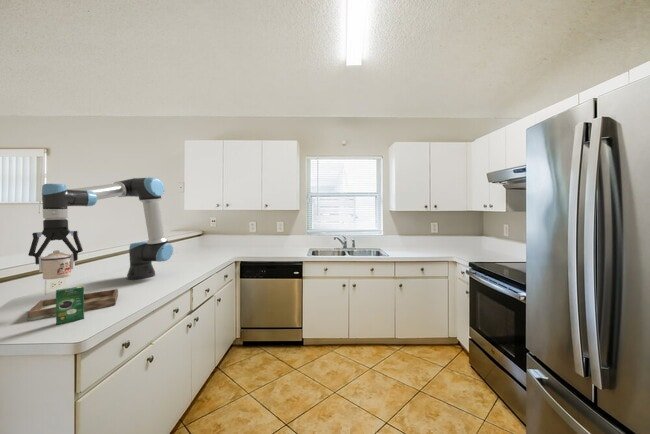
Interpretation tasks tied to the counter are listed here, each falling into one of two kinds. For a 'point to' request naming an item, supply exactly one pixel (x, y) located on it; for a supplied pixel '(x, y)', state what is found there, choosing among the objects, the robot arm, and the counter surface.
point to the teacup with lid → (56, 265)
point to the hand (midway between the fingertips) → (57, 269)
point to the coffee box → (69, 304)
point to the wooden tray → (90, 302)
